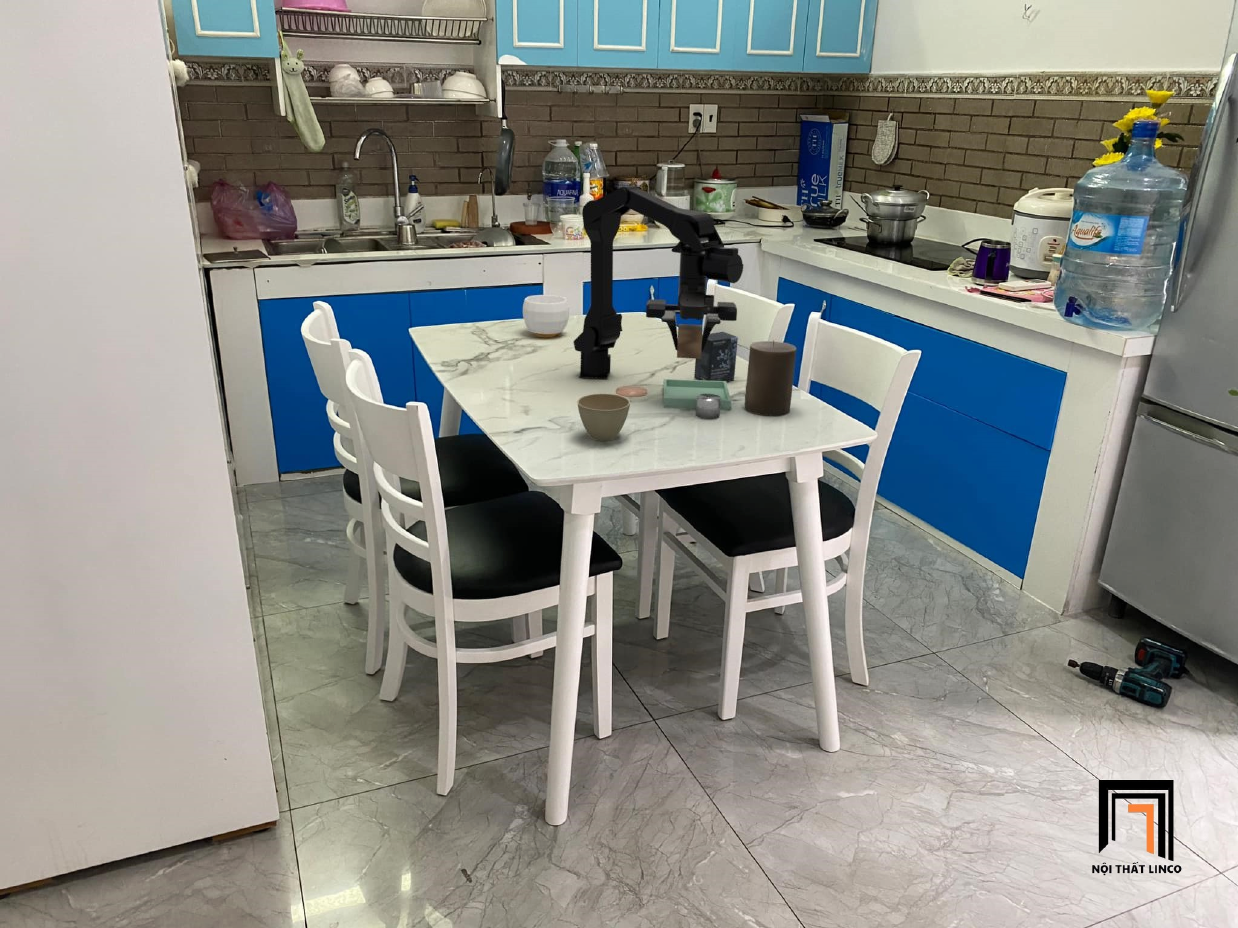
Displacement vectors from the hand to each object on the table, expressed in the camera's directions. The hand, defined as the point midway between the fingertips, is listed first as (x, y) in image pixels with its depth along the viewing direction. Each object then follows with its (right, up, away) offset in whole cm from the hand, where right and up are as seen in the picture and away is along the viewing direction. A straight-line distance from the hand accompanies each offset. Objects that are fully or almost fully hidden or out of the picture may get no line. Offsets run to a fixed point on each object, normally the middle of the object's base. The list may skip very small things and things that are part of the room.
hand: (689, 350), depth 199 cm
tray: (+2, -10, +6) cm, 12 cm away
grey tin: (+3, -14, -5) cm, 15 cm away
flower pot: (-18, -19, -18) cm, 32 cm away
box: (+7, -5, +20) cm, 21 cm away
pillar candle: (+17, -13, +1) cm, 21 cm away
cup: (-35, +10, +54) cm, 65 cm away
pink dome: (-12, -9, +9) cm, 17 cm away
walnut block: (0, -1, 0) cm, 1 cm away
